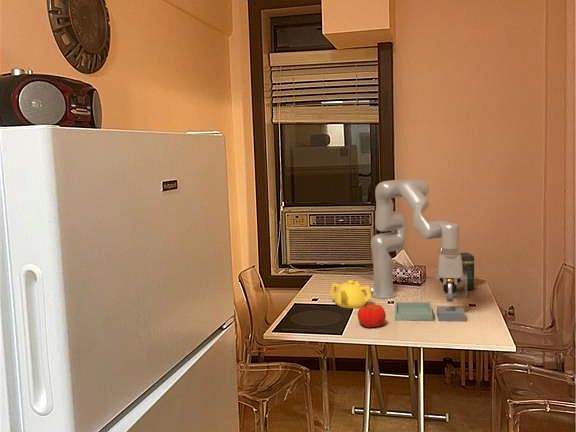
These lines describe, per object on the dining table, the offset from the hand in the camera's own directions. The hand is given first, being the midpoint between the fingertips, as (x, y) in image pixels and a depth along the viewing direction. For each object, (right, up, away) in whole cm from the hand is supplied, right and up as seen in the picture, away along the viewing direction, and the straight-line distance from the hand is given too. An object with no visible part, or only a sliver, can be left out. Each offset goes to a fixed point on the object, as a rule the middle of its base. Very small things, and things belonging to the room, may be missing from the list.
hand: (449, 292), depth 264 cm
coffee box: (+13, -7, +36) cm, 39 cm away
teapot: (-40, -10, +28) cm, 50 cm away
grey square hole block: (+1, -11, +1) cm, 11 cm away
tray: (-14, -11, +8) cm, 20 cm away
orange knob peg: (0, -4, +1) cm, 4 cm away
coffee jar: (+22, -4, +51) cm, 55 cm away
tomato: (-35, -14, -5) cm, 38 cm away
